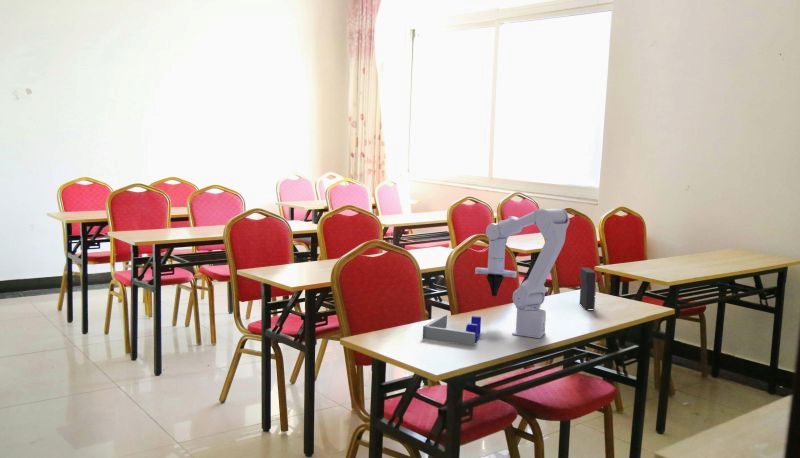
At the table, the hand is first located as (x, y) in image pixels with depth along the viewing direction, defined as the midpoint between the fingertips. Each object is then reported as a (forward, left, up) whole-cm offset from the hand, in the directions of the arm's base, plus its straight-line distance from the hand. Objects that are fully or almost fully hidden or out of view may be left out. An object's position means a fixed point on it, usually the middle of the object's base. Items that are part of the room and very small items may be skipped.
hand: (494, 295), depth 257 cm
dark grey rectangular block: (-25, -44, -10) cm, 52 cm away
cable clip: (+1, +22, -10) cm, 24 cm away
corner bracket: (+6, +22, -10) cm, 25 cm away
